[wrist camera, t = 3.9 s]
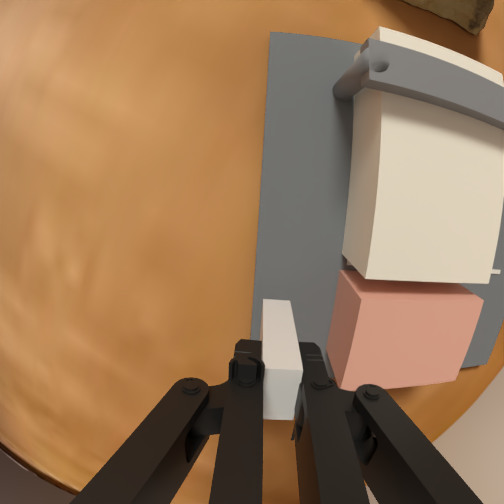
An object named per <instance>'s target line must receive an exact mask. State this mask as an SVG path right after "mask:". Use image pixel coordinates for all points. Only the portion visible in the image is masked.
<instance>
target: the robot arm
mask: <svg viewBox="0 0 504 504" xmlns="http://www.w3.org/2000/svg"><path fill="white" fill-rule="evenodd" d="M323 360H324V359H323V356H322V353H321V349H320V347H319V346H318V345H316V344H315V343H314V342H298V339H297V334H296V329H295V323H294V318H293V313H292V308H291V303H290V301H289V300H273V299H263V307H262V318H261V330H260V340H246V339H241V340H240V341H239V342H238V343H237V344H236V345H235V352H234V358H233V359H231V361H230V362H229V379H228V381H226V382H225V383H223V384H220V385H216V386H208V384H207V383H206V382H204V381H203V380H201V379H198V378H184V379H181V380H179V381H177V382H176V383H175V384H174V385H173V386H172V387H171V389H170V390H169V391H168V392H167V393H166V395H165V396H164V397H163V398H162V399H161V400H160V402H159V403H158V404H157V405H156V406H155V408H154V409H153V410H152V411H151V412H150V413H149V415H148V416H147V417H146V418H145V419H144V420H143V421H142V423H141V424H140V425H139V426H138V427H137V428H136V430H135V431H134V432H133V433H132V434H131V435H130V437H129V438H128V439H127V440H126V441H125V442H124V443H123V445H122V446H121V447H120V448H119V449H118V450H117V451H116V453H115V454H114V455H113V456H112V457H111V458H110V459H109V460H108V462H107V463H106V464H105V465H104V466H103V467H102V468H101V469H100V471H99V472H98V473H97V474H96V475H95V476H94V477H93V478H92V480H91V481H90V482H89V483H88V484H87V485H86V486H85V487H84V488H83V489H82V491H81V492H80V493H79V494H78V495H77V496H76V497H75V499H73V500H72V502H71V503H70V504H170V502H171V501H172V499H173V498H174V496H175V494H176V493H177V491H178V490H179V488H180V486H181V485H182V483H183V481H184V480H185V478H186V476H187V475H188V473H189V471H190V470H191V468H192V466H193V465H194V463H195V461H196V460H197V458H198V456H199V454H200V453H201V451H202V449H203V448H204V446H205V444H206V442H207V441H208V439H209V436H210V435H214V434H220V436H219V443H218V449H217V455H216V461H215V468H214V474H213V480H212V487H211V493H210V499H209V504H262V475H263V419H272V420H293V418H294V414H295V419H296V420H295V425H294V429H293V434H292V438H291V440H294V437H295V448H296V460H297V472H298V484H299V497H300V504H370V503H369V499H368V495H367V491H366V487H365V483H364V480H365V482H366V483H367V485H368V487H369V488H370V490H371V492H372V493H373V495H374V497H375V498H376V500H377V501H378V503H379V504H483V503H482V502H481V500H480V499H479V498H478V497H477V496H476V495H475V493H474V492H473V491H472V490H471V489H470V487H468V485H467V484H466V483H465V482H464V480H463V479H462V478H461V477H460V476H459V475H458V473H457V472H456V471H455V470H454V469H453V468H452V467H451V465H450V464H449V463H448V462H447V461H446V460H445V458H444V457H443V456H442V455H441V454H440V453H439V451H438V450H436V448H435V447H434V446H433V444H432V443H431V442H430V441H429V440H428V439H427V438H426V436H425V435H424V434H423V433H422V432H421V431H420V429H419V428H418V427H417V426H416V425H415V424H414V423H413V421H412V420H411V419H410V418H409V417H408V416H407V415H406V413H405V412H404V411H403V410H402V409H401V408H400V407H399V405H398V404H397V403H396V402H395V401H394V400H393V399H392V397H391V396H390V395H389V394H388V393H387V392H386V391H385V390H384V389H383V388H382V387H380V386H377V385H374V384H363V385H361V386H359V387H358V388H357V389H356V392H353V391H348V390H344V389H340V388H338V387H337V385H336V383H335V381H334V380H333V379H331V378H330V377H329V376H328V373H327V370H326V366H325V363H324V361H323ZM363 478H364V479H363Z"/></svg>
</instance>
